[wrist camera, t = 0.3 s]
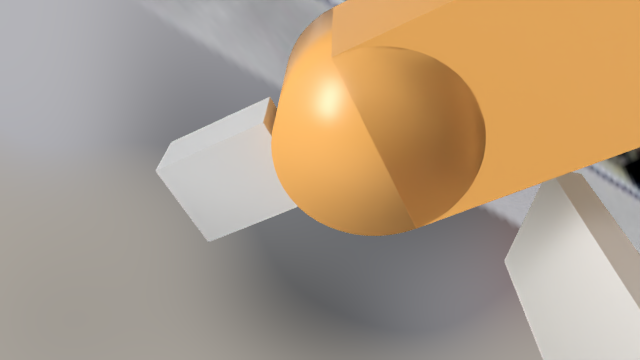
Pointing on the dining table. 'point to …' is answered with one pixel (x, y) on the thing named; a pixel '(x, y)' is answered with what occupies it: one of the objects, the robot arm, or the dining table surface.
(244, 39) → the dining table surface
